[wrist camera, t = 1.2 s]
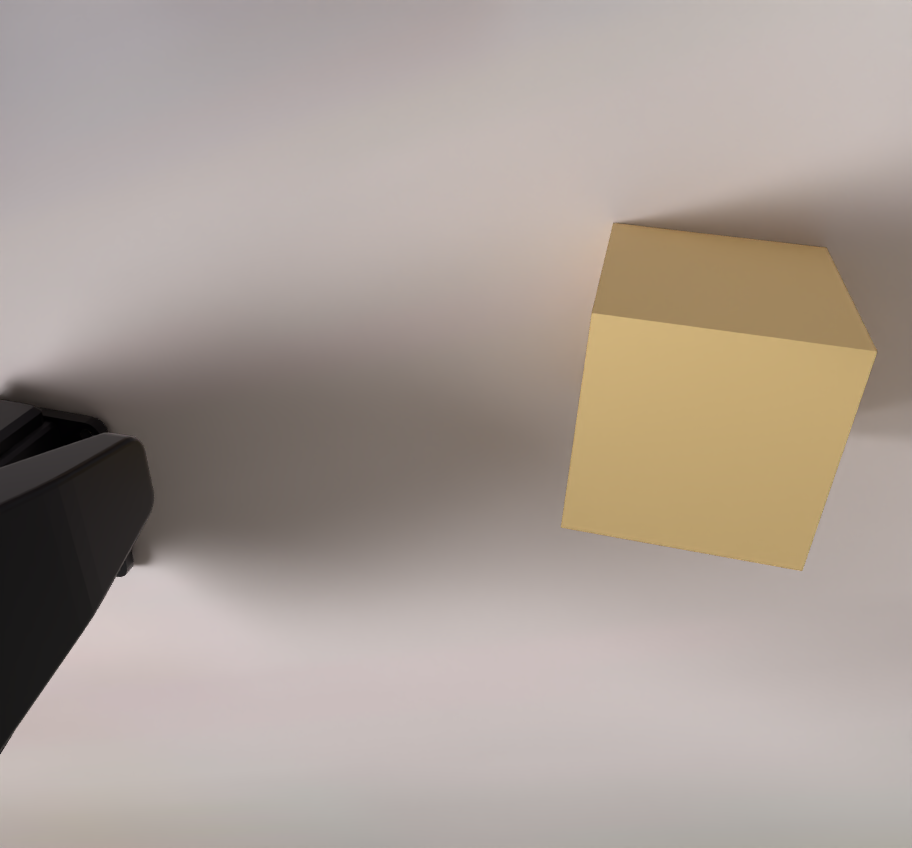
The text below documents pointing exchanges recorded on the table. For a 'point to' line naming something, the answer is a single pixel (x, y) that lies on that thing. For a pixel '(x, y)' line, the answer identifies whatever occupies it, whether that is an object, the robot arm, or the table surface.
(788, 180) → the table surface
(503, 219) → the table surface
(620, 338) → the ochre block
